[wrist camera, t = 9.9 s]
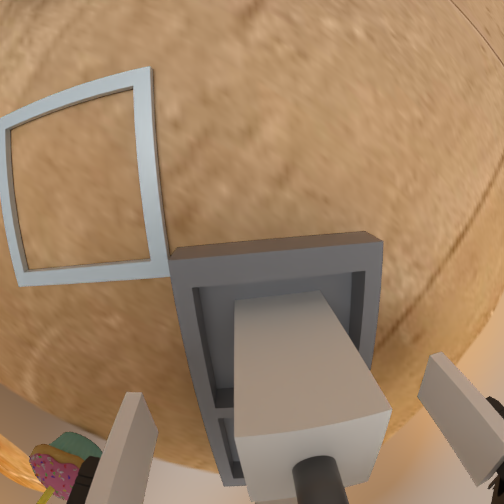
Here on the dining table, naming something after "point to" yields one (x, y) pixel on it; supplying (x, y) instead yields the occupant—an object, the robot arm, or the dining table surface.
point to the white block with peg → (302, 401)
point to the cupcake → (61, 463)
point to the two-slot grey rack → (256, 286)
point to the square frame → (148, 176)
